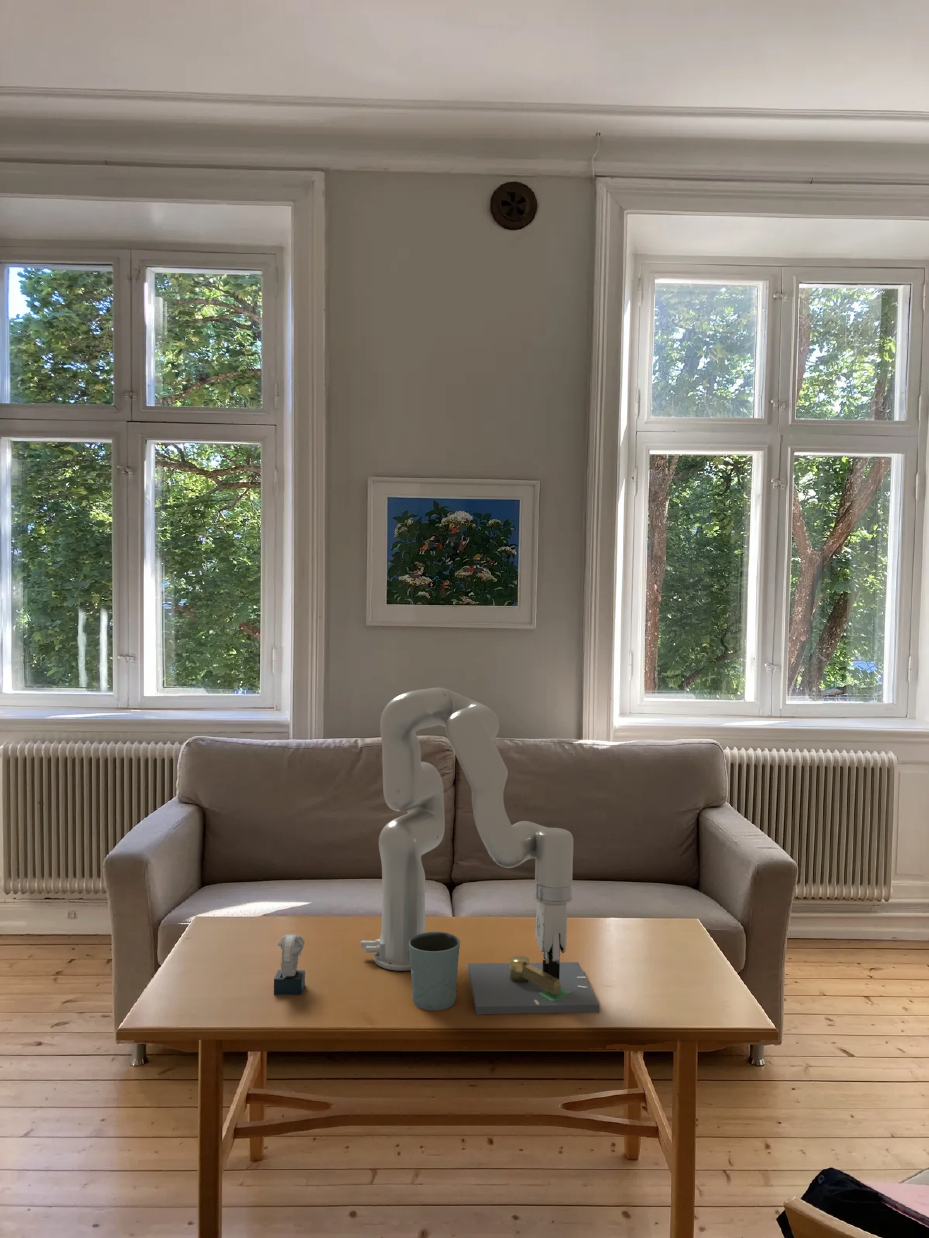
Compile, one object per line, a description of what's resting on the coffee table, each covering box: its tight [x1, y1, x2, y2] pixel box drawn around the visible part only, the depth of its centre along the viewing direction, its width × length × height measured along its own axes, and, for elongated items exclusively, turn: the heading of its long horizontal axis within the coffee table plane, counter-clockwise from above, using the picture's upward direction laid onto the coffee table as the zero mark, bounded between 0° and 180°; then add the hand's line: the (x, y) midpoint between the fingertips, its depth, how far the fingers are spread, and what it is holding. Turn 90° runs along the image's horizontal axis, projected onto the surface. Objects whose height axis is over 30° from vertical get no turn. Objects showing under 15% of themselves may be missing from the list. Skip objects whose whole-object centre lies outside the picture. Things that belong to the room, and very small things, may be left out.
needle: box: [509, 955, 561, 994], centre depth 178 cm, size 14×4×4 cm, turn 37°
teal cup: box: [409, 931, 461, 1011], centre depth 174 cm, size 10×10×12 cm
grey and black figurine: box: [273, 933, 306, 996], centre depth 178 cm, size 6×8×11 cm
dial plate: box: [467, 961, 600, 1015], centre depth 180 cm, size 24×20×2 cm
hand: (550, 980), depth 178 cm, fingers closed
